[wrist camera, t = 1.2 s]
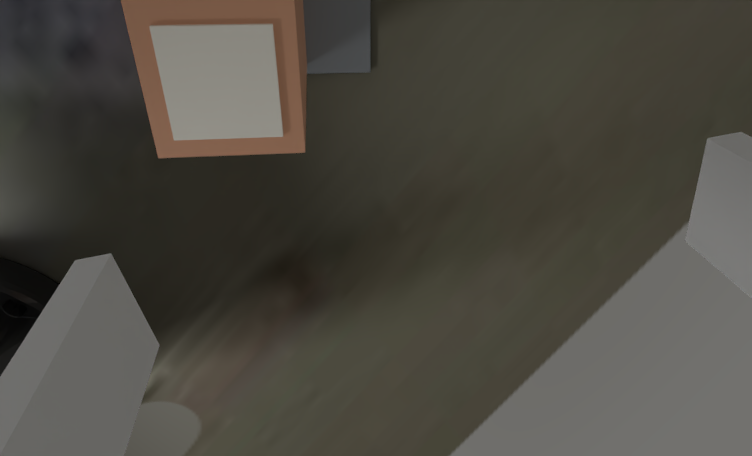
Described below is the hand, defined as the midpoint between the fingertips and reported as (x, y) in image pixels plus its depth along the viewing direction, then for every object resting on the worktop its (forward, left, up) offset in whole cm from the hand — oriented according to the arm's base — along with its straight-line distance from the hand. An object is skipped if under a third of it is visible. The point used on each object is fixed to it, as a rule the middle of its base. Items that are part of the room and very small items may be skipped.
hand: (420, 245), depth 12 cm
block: (-5, +2, -19) cm, 20 cm away
